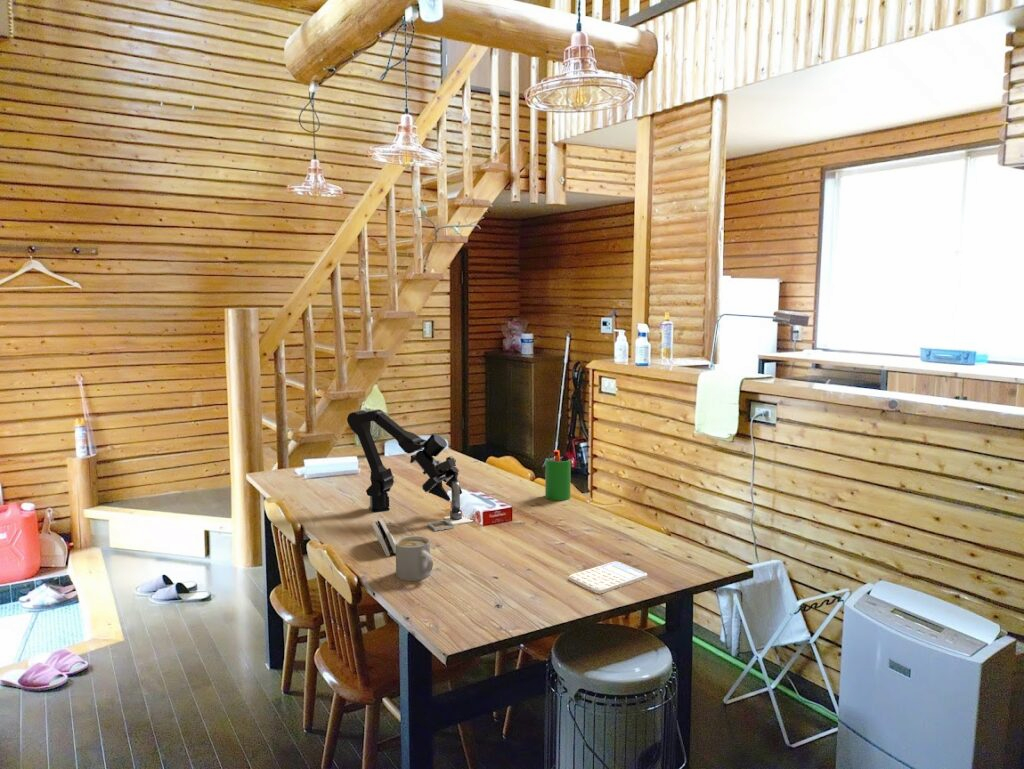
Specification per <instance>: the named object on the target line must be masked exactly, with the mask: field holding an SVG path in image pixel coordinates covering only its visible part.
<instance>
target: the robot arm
mask: <svg viewBox="0 0 1024 769" xmlns="http://www.w3.org/2000/svg"><path fill="white" fill-rule="evenodd" d="M346 421H347V422H346V423H347V424H348V426H349V428H350V430H351V431H352V432H353V433H354V434H355V435H357V437H358V440H359V443H360V446H361V448H362V450H363V453H364V455H365V458H366V459H365V460H366V461H367V464H368V466H369V468H370V478H369V479H370V483H371V485H370V486H369V487H368V488H367V489H366V490H365V492H366V495H367V496H369V506H368V509H370V511H371V512H373V513H377V512H385V511H390V496H389V493H388V492H390V491H391V490H392V489H391V488H392V487H393V485H394V484H395V481H394V478H395V476H394V475H393V472H392V470H391V468H386V467H385V465H384V464H383V462H382V461H383V460H382V458H381V456H380V454H379V452H378V448H377V445H376V444H375V443H376V442H375V441H374V438H373V435H372V433H371V423H372V422H374V423H375V424H376V425H378V426H379V427H380V428H381V429H382V430H384V431H385V432H386V433H387V434H389V435H390V436H391V437H392V438H394V439H395V441H396V442H397V443H398V446H399V448H400V449H401V450H402V451H404V453H406V454H409V455H410V454H411V455H410V464H413V463H415V462H416V463H417V464H418V465H419V467H420V468H421V469H422V470H423V472H422V474H423V475H427V476H428V477H429V478H428V479H427V480H426V481H425V482H424V483H422V487H421V488H422V490H423V491H424V492H425V493H427V494H431V495H434V496H436V497H438V498H441V499H442V500H443V499H444V500H445V501H447V502H449V501H450V500H451V496H450V495H449V494H448V493H447V491H446V490H445V489H444V487H443V482H444V483H445V485H446V486H448V487H449V488H450V489H451V482H453V481H458V482H459V480H458V475H459V472H460V470H459V469H458V467H456V466H457V465H456V462H457V459H455V457H453V456H452V455H450V456H447V457H446V459H445V460H444V461H442V462H441V460H436V459H435V458H434V457H438V456H439V454H441V452H442V451H444V449H446V447H447V446H448V443H447V441H446V439H445V438H444V437H442V436H441V435H438V434H437V433H435V432H434V433H432V434H431V435H430V437H429V438H428V439H427V440H426V439H423V438H422V437H421V436H419V435H417V434H415V433H414V432H411V431H407V430H406V429H404V427H402V426H400V425H399V424H398V423H397V422H395V421H394V420H393V419H392V418H390V417H389V416H388V415H387V414H385V413H384V411H383V410H382V409H373V410H370V411H366V410H364V409H361V410H356V411H353V412H350V413H348V416H347V418H346ZM421 449H422V450H421ZM415 452H416V453H415ZM412 453H415V454H412ZM462 493H463V491H462V488H461V487H460V495H461V494H462Z"/></svg>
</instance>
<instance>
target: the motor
mask: <svg viewBox="0 0 1024 769" xmlns="http://www.w3.org/2000/svg"><path fill="white" fill-rule="evenodd" d="M560 452H561V451H560V450H559V449H554V450H553V457H554V460H551V459H550V457H547V458H545V459H544V460H545V475H544V476H545V480H544V481H545V486H544V488H545V489H544V490H545V491H544V492H545V499H547V500H551V501H566V500H570V499H571V481H572V480H571V466H572V465H571V463H572V462H571V460H572V459H571V458H569V459H568V460H566V461H565V460H561V453H560Z"/></svg>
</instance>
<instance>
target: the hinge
mask: <svg viewBox="0 0 1024 769" xmlns="http://www.w3.org/2000/svg"><path fill="white" fill-rule="evenodd" d="M371 526H372V529H373V532H374V535H375V536H376V538H377V541H378V543H379V545H380V544H381V545H380V547H381V546H382V547H381V548H382V550H383V552H384V554H385V555H386V557H390V556H391V555H392V554H395V555H396V541H397V540H396V539H395V538H394V537H393V534H392V533H390V530H389V529H388V527H387V525H386V523H385V521H384V519H383V518H381V519H377V521H373V522H372V523H371Z"/></svg>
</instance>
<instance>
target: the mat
mask: <svg viewBox="0 0 1024 769" xmlns="http://www.w3.org/2000/svg"><path fill="white" fill-rule="evenodd" d="M445 519H446V520H447V521H449V522H450V523H451V524H453V525H454V526H456V525H464V524H471V523H473V522H472V521H473V520H470V519H467V518H465V517H463V516H462V519H460V520H451V519H450V515H449V516H443V520H445ZM470 522H471V523H470Z"/></svg>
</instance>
